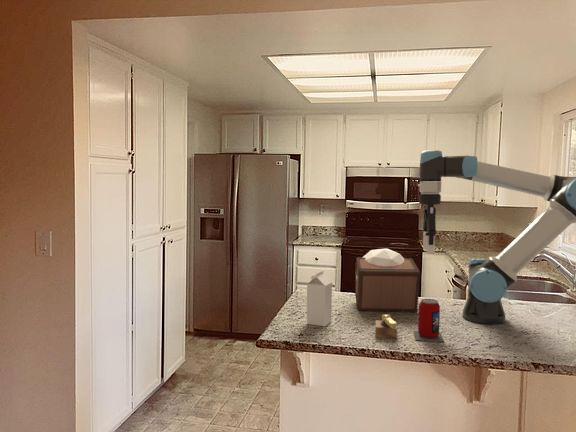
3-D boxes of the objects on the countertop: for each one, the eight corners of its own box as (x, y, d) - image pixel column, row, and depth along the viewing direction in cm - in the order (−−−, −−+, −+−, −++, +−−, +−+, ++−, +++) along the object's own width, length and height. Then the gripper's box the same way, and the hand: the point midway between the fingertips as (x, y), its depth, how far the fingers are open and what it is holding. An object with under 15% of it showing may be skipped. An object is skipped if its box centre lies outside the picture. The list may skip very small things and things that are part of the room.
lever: (397, 328, 151) (397, 322, 151) (389, 329, 151) (389, 322, 150) (388, 320, 160) (389, 314, 160) (381, 320, 160) (381, 314, 160)
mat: (440, 333, 160) (440, 332, 160) (444, 342, 151) (444, 341, 151) (413, 332, 162) (413, 330, 162) (415, 340, 153) (415, 339, 153)
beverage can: (440, 339, 152) (441, 303, 152) (418, 338, 154) (419, 302, 153) (437, 333, 159) (438, 298, 158) (417, 332, 160) (418, 297, 160)
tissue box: (357, 319, 189) (359, 264, 182) (351, 288, 216) (353, 239, 209) (417, 320, 188) (421, 265, 181) (404, 289, 215) (407, 239, 207)
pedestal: (396, 331, 162) (396, 320, 162) (396, 338, 154) (397, 327, 154) (375, 330, 164) (375, 318, 163) (375, 337, 156) (375, 325, 155)
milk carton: (331, 321, 173) (332, 271, 172) (324, 327, 167) (325, 274, 165) (313, 319, 176) (314, 269, 175) (306, 324, 170) (307, 273, 168)
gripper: (416, 192, 182) (415, 246, 184) (422, 194, 158) (420, 255, 159) (436, 192, 181) (435, 247, 182) (445, 194, 156) (443, 256, 158)
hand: (428, 251), depth 171 cm, fingers open, 13 cm apart
